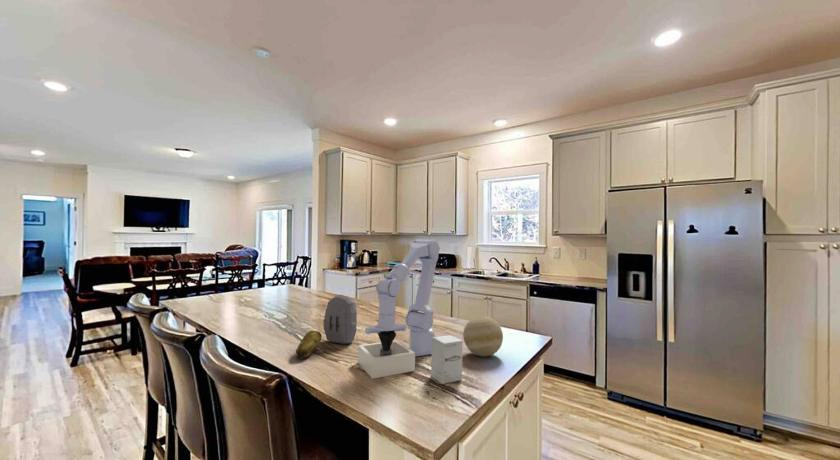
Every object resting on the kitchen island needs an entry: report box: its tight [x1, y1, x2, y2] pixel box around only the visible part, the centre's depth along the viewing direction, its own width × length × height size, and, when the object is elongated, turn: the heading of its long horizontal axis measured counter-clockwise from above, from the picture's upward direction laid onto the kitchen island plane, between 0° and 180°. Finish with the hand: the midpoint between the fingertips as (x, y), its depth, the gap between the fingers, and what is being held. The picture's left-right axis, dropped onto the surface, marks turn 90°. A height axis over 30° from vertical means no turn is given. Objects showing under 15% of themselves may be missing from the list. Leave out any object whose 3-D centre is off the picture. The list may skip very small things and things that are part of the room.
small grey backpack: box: [322, 294, 358, 345], centre depth 142 cm, size 15×8×20 cm, turn 66°
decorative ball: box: [462, 315, 504, 358], centre depth 130 cm, size 15×15×15 cm
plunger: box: [380, 348, 392, 357], centre depth 117 cm, size 11×11×5 cm
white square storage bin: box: [357, 340, 416, 379], centre depth 117 cm, size 15×15×6 cm
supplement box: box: [430, 334, 464, 385], centre depth 109 cm, size 7×7×13 cm
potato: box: [295, 330, 322, 360], centre depth 127 cm, size 8×13×8 cm, turn 154°
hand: (385, 353), depth 117 cm, fingers closed, pressing on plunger
